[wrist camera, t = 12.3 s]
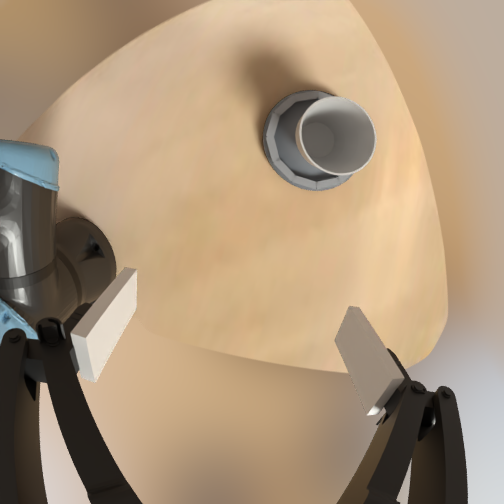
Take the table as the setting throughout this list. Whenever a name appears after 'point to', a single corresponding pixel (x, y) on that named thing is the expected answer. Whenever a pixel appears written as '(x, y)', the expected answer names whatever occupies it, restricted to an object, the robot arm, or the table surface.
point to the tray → (285, 148)
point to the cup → (336, 136)
